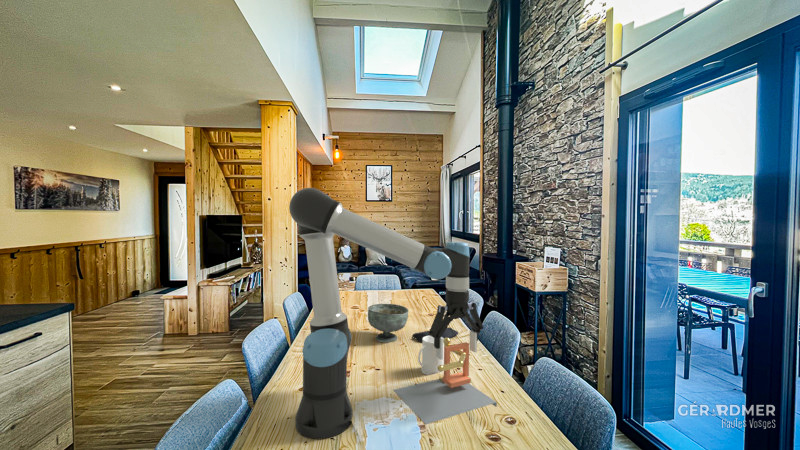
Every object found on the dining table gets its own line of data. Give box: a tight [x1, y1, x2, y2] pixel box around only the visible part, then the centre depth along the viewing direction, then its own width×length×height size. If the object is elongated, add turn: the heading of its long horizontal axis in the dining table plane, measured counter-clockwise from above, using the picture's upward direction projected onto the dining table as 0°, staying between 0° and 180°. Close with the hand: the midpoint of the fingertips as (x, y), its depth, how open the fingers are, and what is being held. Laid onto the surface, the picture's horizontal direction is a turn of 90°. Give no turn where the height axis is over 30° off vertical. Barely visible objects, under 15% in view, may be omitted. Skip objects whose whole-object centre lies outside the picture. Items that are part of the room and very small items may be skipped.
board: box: [393, 378, 498, 425], centre depth 100 cm, size 25×20×1 cm
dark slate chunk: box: [412, 326, 459, 343], centre depth 158 cm, size 15×22×5 cm
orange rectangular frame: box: [442, 342, 472, 388], centre depth 105 cm, size 5×9×12 cm, turn 117°
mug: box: [417, 336, 444, 376], centre depth 119 cm, size 12×8×12 cm
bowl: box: [367, 303, 409, 344], centre depth 154 cm, size 20×19×15 cm
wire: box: [438, 338, 466, 384], centre depth 102 cm, size 15×17×14 cm
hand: (456, 354), depth 105 cm, fingers open, 13 cm apart
